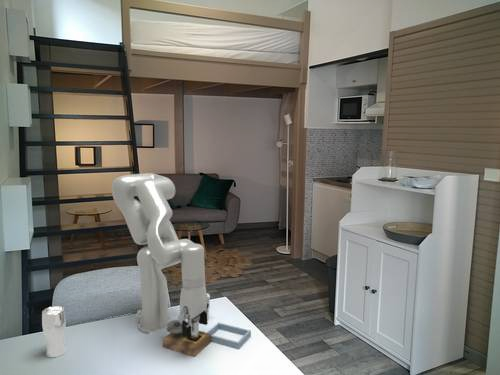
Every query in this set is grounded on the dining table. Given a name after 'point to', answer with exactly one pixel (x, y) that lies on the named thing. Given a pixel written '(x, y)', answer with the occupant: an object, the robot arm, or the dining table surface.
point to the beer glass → (54, 330)
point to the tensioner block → (184, 340)
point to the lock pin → (195, 328)
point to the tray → (230, 329)
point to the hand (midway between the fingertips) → (195, 330)
